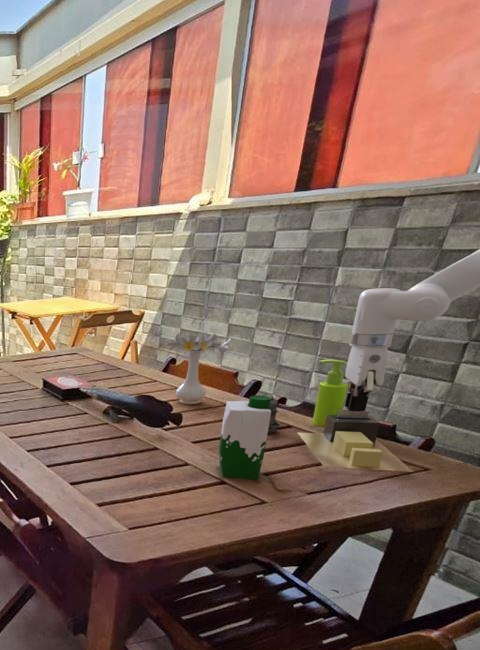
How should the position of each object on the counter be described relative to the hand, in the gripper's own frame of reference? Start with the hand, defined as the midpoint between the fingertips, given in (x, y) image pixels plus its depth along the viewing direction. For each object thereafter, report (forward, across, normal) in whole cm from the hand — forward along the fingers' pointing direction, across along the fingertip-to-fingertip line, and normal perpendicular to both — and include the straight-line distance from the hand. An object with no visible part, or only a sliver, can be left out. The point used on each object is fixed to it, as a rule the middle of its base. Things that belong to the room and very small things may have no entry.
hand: (354, 408), depth 129 cm
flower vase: (+10, +36, +33) cm, 50 cm away
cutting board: (+10, -8, +2) cm, 13 cm away
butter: (+9, -9, +2) cm, 13 cm away
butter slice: (+9, -18, +2) cm, 20 cm away
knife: (+8, 0, 0) cm, 8 cm away
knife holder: (+9, 0, 0) cm, 9 cm away
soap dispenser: (+10, +13, +2) cm, 17 cm away
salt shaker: (+10, +4, +17) cm, 20 cm away
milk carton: (+10, -25, +28) cm, 39 cm away
